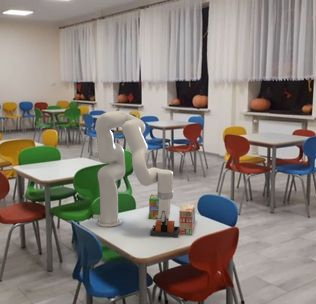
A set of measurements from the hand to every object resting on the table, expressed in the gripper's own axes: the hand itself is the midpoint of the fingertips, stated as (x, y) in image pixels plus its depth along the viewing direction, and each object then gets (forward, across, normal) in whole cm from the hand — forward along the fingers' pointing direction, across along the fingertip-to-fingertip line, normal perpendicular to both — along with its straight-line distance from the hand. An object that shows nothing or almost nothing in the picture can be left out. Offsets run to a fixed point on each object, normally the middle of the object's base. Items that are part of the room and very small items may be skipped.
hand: (164, 229), depth 211 cm
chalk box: (+2, -25, -7) cm, 26 cm away
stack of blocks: (+2, -10, +11) cm, 15 cm away
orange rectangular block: (0, 0, 0) cm, 0 cm away
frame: (+2, 0, 0) cm, 2 cm away
